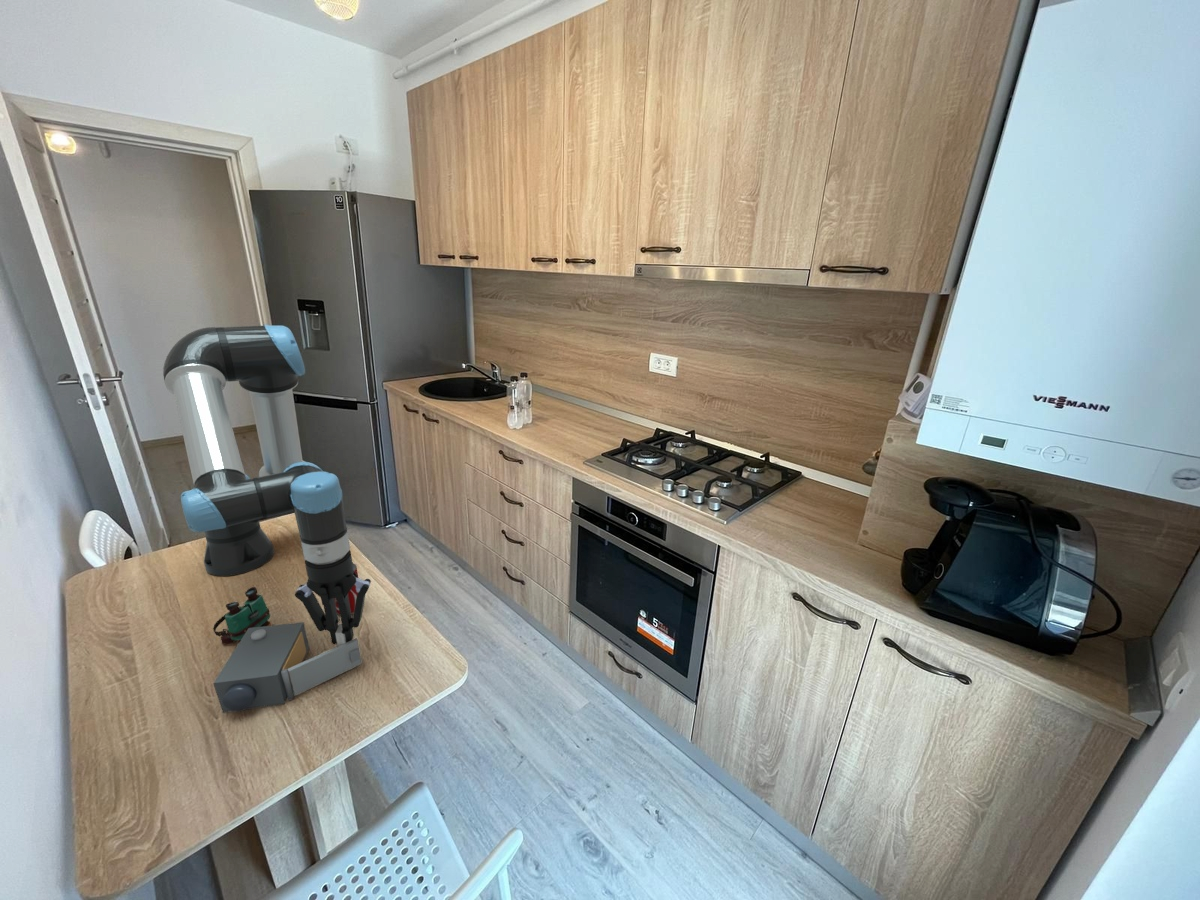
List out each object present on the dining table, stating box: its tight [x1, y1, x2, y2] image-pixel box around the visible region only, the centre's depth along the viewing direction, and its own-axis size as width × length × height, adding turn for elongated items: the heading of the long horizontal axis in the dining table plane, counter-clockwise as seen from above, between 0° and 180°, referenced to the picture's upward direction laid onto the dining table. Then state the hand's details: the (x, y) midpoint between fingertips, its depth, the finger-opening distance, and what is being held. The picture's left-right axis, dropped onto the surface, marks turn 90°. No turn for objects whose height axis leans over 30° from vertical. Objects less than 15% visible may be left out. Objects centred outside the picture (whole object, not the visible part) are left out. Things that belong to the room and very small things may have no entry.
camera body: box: [213, 621, 310, 714], centre depth 92 cm, size 16×10×8 cm, turn 13°
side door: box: [281, 637, 363, 701], centre depth 93 cm, size 13×2×7 cm, turn 133°
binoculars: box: [212, 586, 272, 645], centre depth 103 cm, size 9×11×10 cm
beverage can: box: [334, 562, 359, 616], centre depth 112 cm, size 6×6×12 cm
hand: (345, 653), depth 97 cm, fingers closed
